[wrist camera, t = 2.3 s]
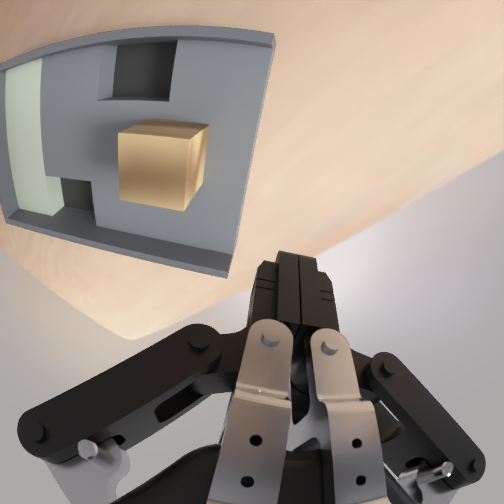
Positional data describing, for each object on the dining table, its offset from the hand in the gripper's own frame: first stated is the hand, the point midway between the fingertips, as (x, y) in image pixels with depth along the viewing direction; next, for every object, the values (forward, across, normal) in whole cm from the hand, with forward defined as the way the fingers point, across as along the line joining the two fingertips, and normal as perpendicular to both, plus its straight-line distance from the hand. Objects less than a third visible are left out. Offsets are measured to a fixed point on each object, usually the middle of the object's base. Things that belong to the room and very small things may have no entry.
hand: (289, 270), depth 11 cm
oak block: (+12, +9, 0) cm, 15 cm away
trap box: (+15, +18, 0) cm, 23 cm away
